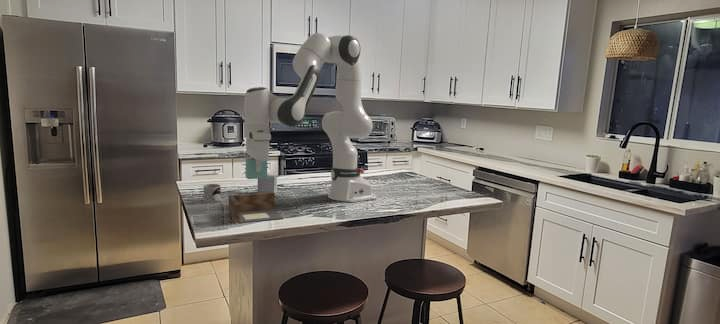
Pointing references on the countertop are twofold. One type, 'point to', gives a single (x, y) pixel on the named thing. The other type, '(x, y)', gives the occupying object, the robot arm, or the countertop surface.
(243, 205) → the corner walls
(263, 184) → the medicine box
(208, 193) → the mug
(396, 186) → the countertop surface
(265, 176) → the teal block
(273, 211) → the mat
